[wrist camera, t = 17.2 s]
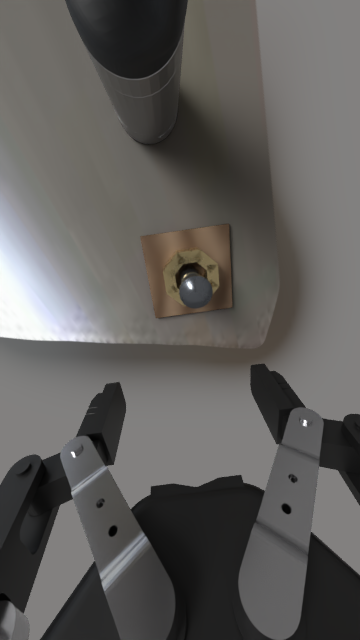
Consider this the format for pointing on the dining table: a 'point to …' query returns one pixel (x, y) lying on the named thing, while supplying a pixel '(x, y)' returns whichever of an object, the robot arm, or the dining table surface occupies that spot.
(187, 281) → the steel pin
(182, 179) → the dining table surface
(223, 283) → the nut base
